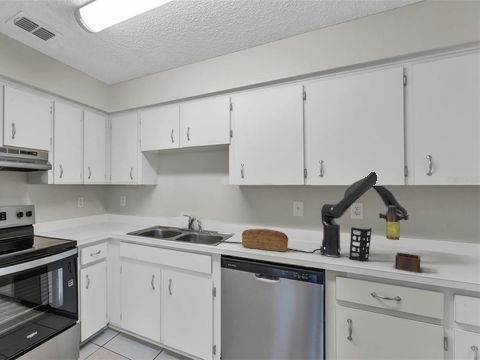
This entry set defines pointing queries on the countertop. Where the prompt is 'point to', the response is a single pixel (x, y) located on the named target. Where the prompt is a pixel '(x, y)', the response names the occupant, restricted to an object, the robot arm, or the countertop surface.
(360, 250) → the holder
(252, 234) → the bread
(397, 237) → the sauce bottle
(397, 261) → the wooden sleeve
